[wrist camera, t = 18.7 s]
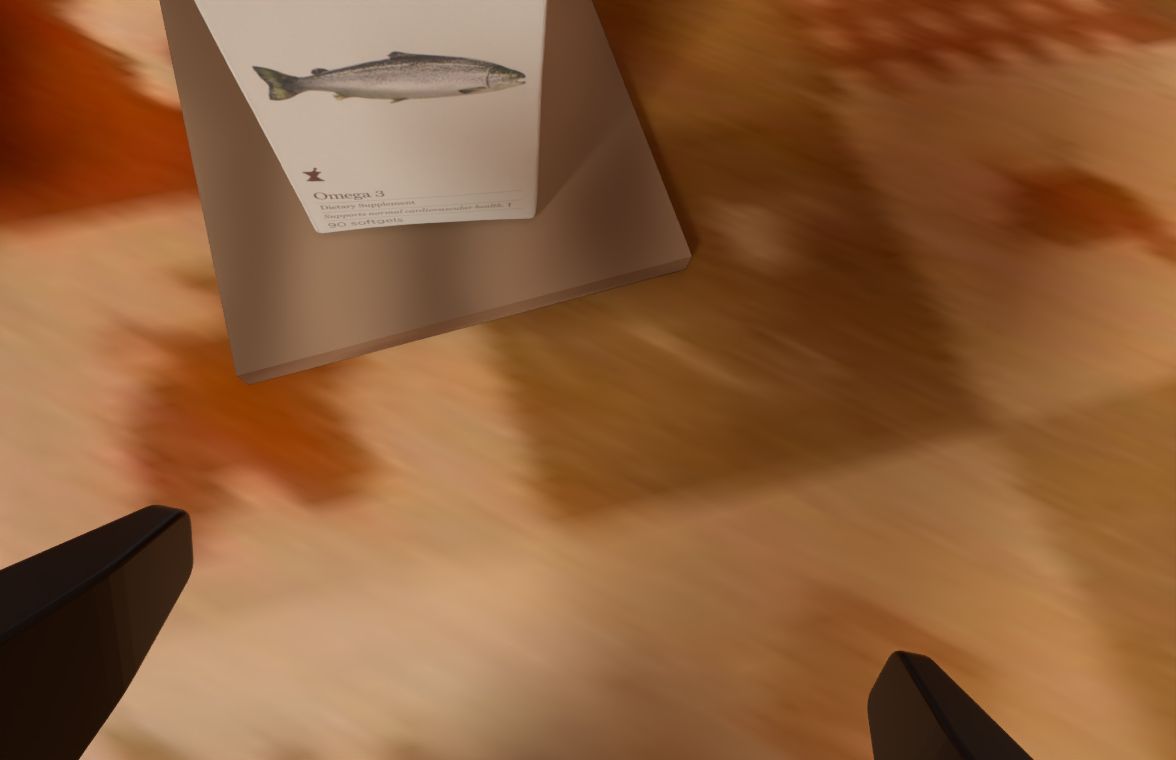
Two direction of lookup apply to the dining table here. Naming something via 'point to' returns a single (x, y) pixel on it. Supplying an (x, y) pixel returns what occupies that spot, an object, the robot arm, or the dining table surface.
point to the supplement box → (394, 103)
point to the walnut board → (429, 250)
